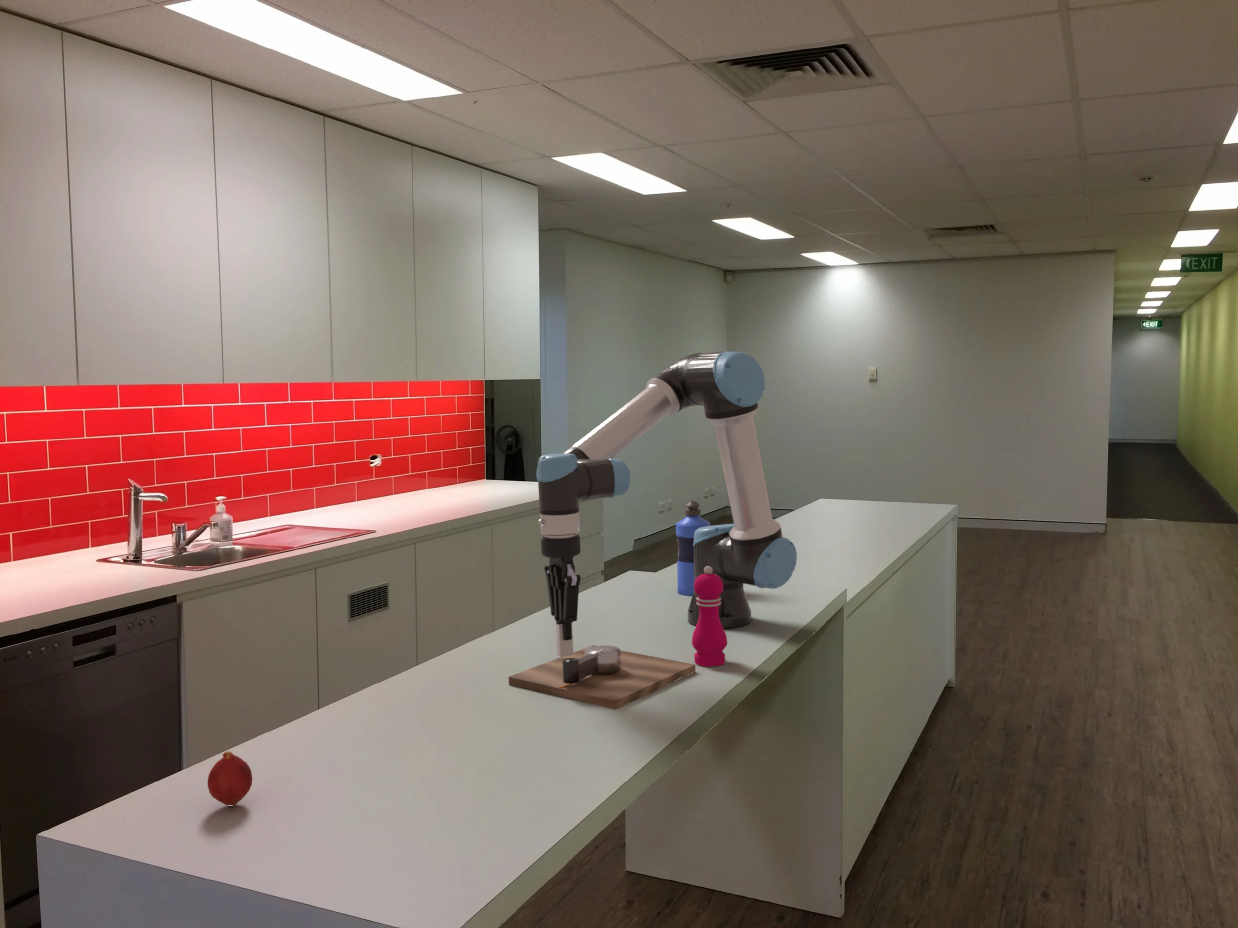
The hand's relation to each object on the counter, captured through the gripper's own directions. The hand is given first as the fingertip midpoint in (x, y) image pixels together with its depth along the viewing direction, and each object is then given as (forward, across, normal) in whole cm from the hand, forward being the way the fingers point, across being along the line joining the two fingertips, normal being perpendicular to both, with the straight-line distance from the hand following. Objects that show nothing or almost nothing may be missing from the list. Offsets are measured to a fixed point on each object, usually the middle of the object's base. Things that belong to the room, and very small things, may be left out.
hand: (565, 654), depth 187 cm
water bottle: (+7, -55, +60) cm, 82 cm away
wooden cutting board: (+5, +2, +7) cm, 9 cm away
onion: (+5, +29, -62) cm, 69 cm away
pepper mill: (+6, +3, +30) cm, 31 cm away
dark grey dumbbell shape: (+3, +4, +3) cm, 6 cm away
